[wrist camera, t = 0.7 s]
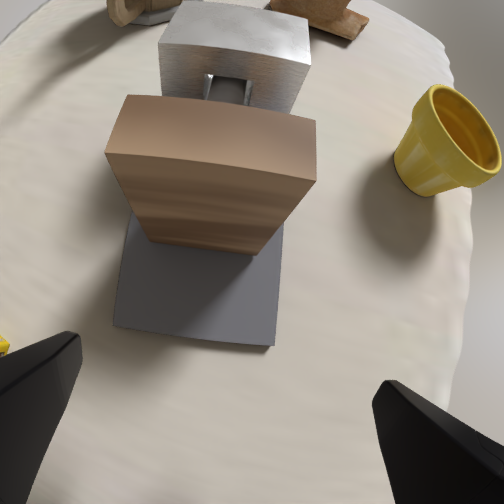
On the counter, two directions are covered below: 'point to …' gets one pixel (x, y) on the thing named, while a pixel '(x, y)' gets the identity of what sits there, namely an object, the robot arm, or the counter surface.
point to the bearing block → (235, 53)
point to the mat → (198, 290)
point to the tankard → (142, 11)
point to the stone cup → (324, 15)
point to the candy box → (3, 347)
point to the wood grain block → (211, 167)
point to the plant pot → (446, 145)
